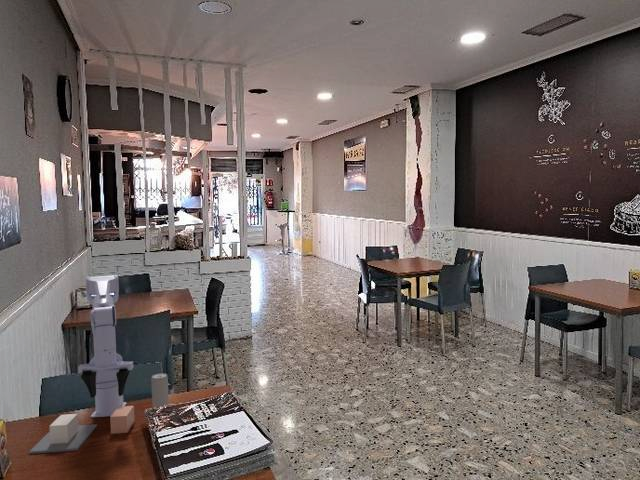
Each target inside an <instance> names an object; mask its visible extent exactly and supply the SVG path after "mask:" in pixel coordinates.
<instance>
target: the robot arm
mask: <svg viewBox="0 0 640 480" xmlns="http://www.w3.org/2000/svg"><path fill="white" fill-rule="evenodd" d="M119 285H120V284H119V276H118V275H117V274H114V275H113V274H112V275H99V276H98V275H97V276H86V278H85V293H86V300H87V302H88V304H89V305H91V306H92V309H90V325H91V330H92V335H93V357H91V359H90V361H89V362H88V363H83V364H80V365H78V366H77V368H78V369H77V370H78V374H81V375H80V378H81V380H82V381H83V382H84V385H85V386H86V388H87V390H88V392H89V395H90V398H91V399H94V400H95V401H94V404H95V411H93V412H92V414H91V416H90V417H91V418H102V417H104V418H105V417H111V415H112V414H113V413H114V411H115V410H116V409H117V408H118V407H122V406H127V402H126V401H124V392H125V386H126V383H127V379H128V378H129V377H128V376H129V374H130V372H131V371H132V370H133V369H134V361H123V357H122V355H121V354H119V353H118V352H117V343H116V342H117V341H116V339H117V338H116V326H117V309H116V306H115V304H116V303H117V302H118V301H119V293H120V288H119V287H120V286H119Z"/></svg>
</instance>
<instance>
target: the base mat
mask: <svg viewBox="0 0 640 480" xmlns="http://www.w3.org/2000/svg"><path fill="white" fill-rule="evenodd" d="M97 427H98V424H97V423H96V424H83V425H82V424H80V425H79V424H78V429H79V431H78V432H77V433H76V434H75V435H74V437H73V438H72V439H71V440H70V441H69V442H68V443H58V444H50V430H49V431H48V432H47V433H46V434H45V435H44V436H43V438H41V439H40V440H39V441H38V442H37V444H35V445H34V446H33V447H32V448H31V449H30V450H29V452H28V453H29V454H31V455H32V454H46V453H57V452H58V453H59V452H61V453H62V452H72V451H78V450H79V449H80V448H81V446H83V444H85V442H86V440H87V439H88V438H89V437H90V436H91V434H92V433H93V432H94V431H95V429H96V428H97Z"/></svg>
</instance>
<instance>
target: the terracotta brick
mask: <svg viewBox="0 0 640 480" xmlns="http://www.w3.org/2000/svg"><path fill="white" fill-rule="evenodd" d="M134 407H135V405H125V406H122V407H118V408H117V409H116V410H115V411H114V413H113V414H112V415H111V416H109V417H110V419H109V420H110V434H126V433H128V432H129V431H130V430H131V428H132V426H133V425H134V424H135V408H134Z"/></svg>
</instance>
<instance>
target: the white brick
mask: <svg viewBox="0 0 640 480" xmlns="http://www.w3.org/2000/svg"><path fill="white" fill-rule="evenodd" d="M78 425H79V415H78V413H69V414H67V413H66V414H60V415H59V416H58V417H56V419H55V420H53V422H52V423H51V424H50V425H49V431H50V444H58V443H68V442H69V441H70V440H71V439H72V438H73V437H74V435H75V434H76V433H77V432H78V431H79V429H78Z"/></svg>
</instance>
